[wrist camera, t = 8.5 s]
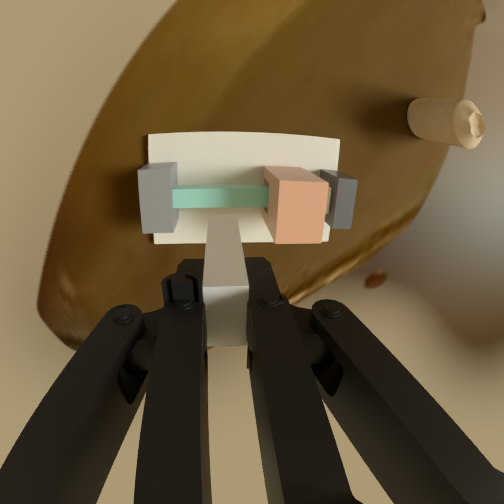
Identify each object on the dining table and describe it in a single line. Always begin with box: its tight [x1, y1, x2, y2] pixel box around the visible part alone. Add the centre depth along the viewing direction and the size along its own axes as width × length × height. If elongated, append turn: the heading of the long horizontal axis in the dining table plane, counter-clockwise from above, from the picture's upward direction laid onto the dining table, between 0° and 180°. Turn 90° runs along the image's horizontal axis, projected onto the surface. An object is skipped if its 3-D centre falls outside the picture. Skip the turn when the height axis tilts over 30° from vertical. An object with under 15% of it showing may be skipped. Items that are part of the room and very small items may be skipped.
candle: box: [407, 98, 486, 149], centre depth 23 cm, size 6×6×10 cm
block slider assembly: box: [138, 132, 358, 244], centre depth 27 cm, size 12×20×6 cm, turn 88°
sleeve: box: [261, 166, 329, 244], centre depth 26 cm, size 5×4×8 cm
